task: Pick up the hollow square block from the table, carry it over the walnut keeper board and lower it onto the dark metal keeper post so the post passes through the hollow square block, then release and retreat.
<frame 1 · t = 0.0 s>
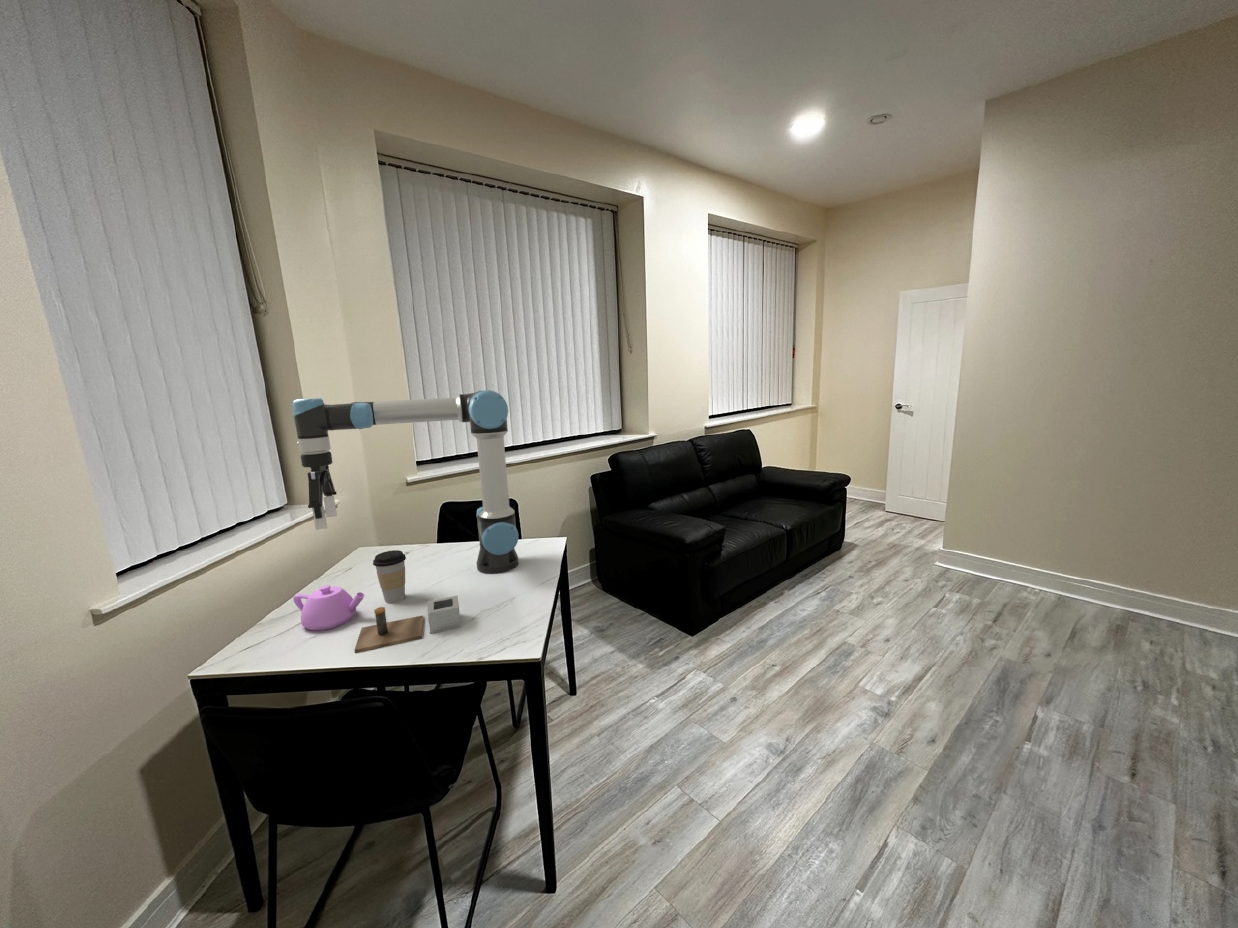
hand: (326, 522, 137), 28 cm above the table, fingers open, 13 cm apart
coffee cup: (394, 599, 147), on the table
keeper: (391, 634, 126), on the table
hollow square block: (445, 623, 131), on the table
teapot: (333, 620, 135), on the table
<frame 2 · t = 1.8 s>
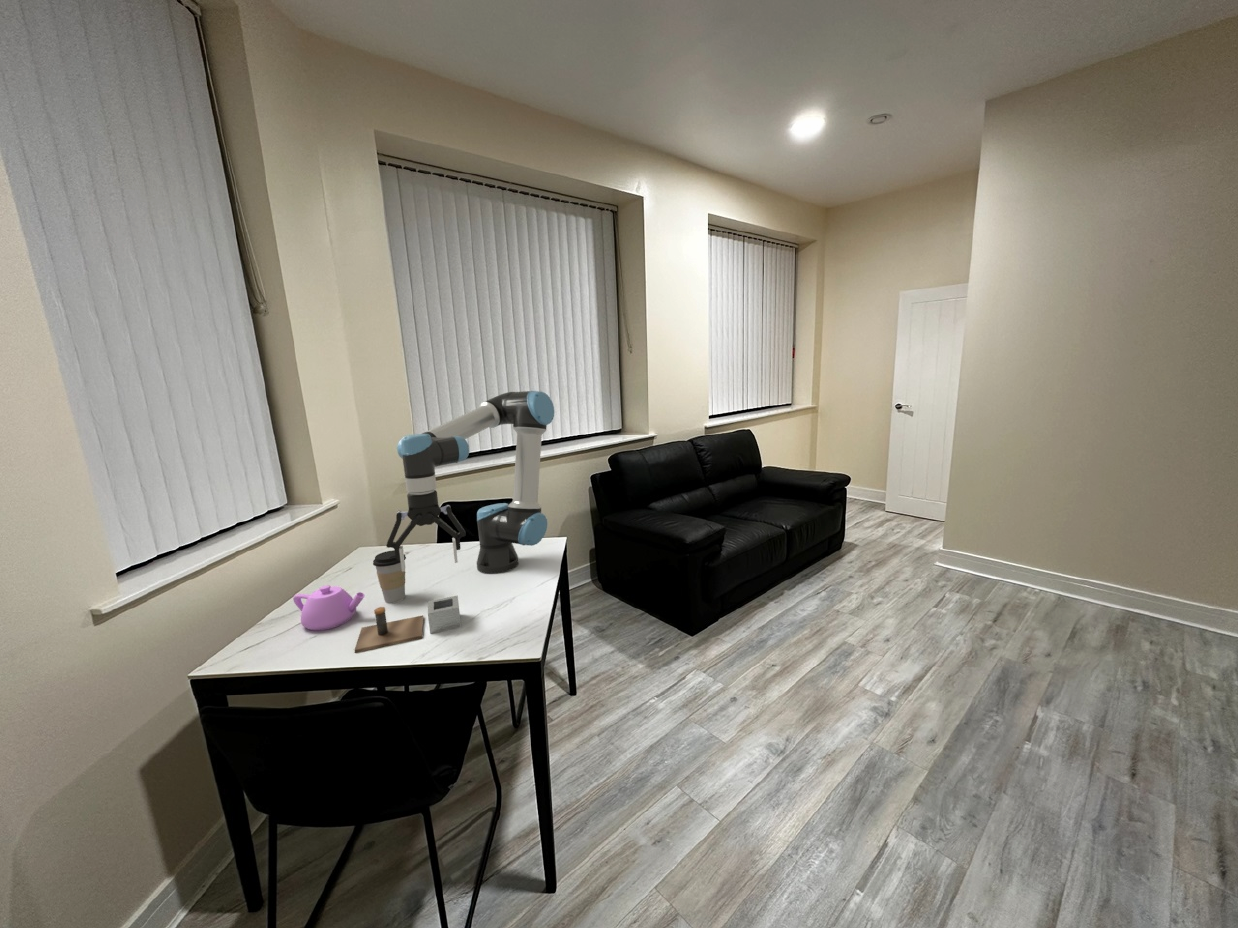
hand: (430, 565, 128), 17 cm above the table, fingers open, 13 cm apart
nothing on the table moved.
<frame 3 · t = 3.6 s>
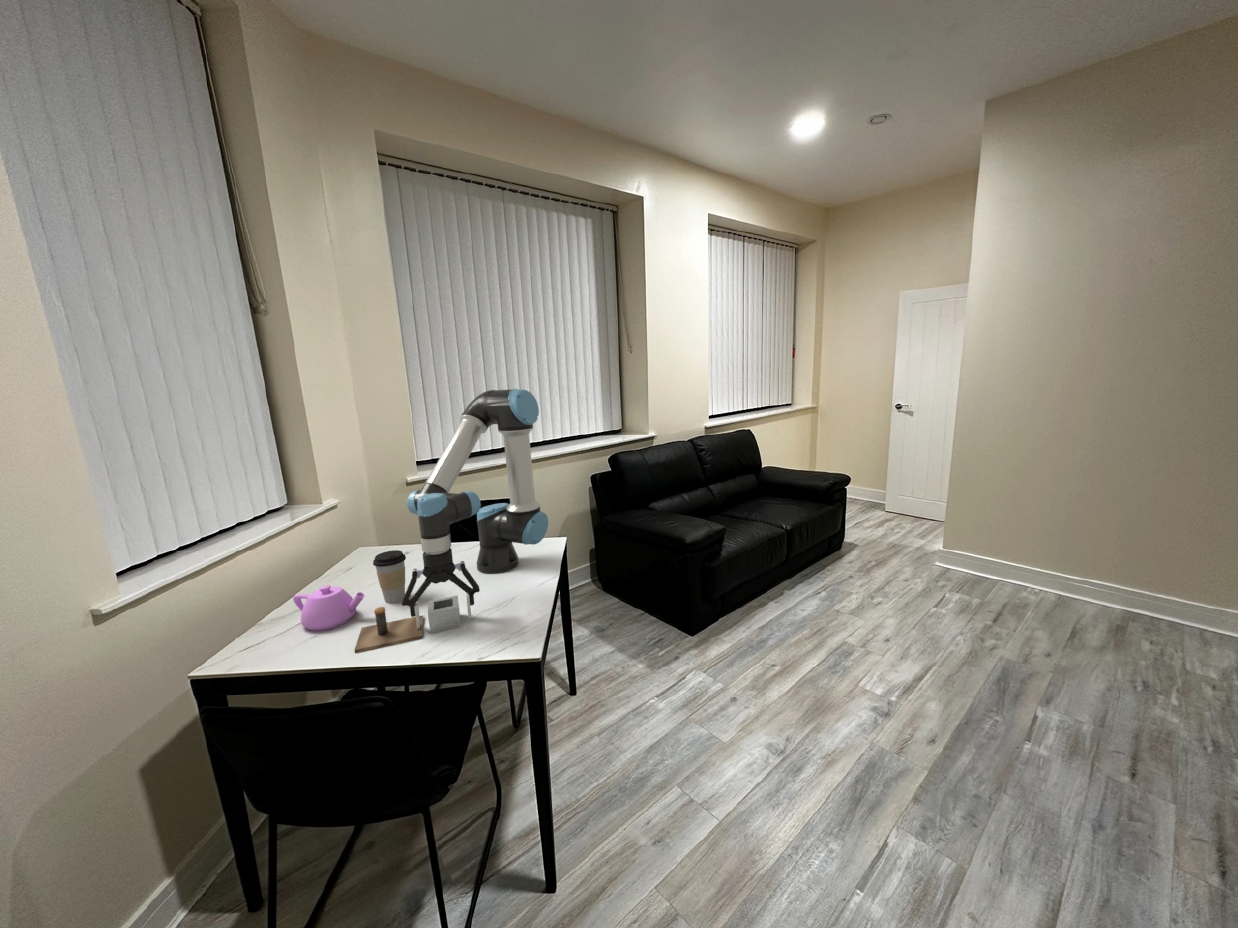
hand: (444, 621, 130), 1 cm above the table, fingers open, 13 cm apart
nothing on the table moved.
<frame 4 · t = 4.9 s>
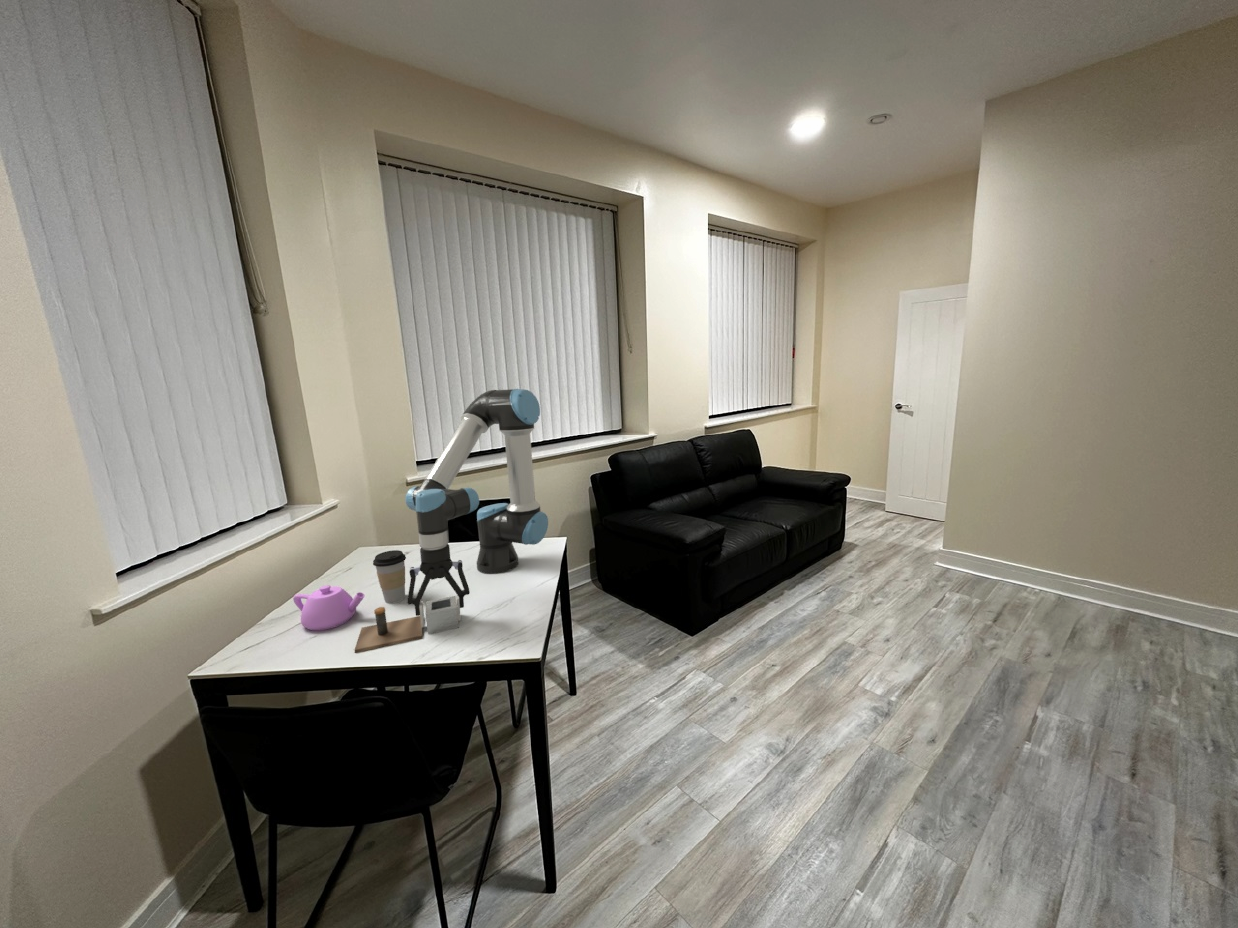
hand: (441, 621, 130), 1 cm above the table, fingers open, 9 cm apart
hollow square block: (443, 623, 130), on the table, touching gripper
everything else where it was.
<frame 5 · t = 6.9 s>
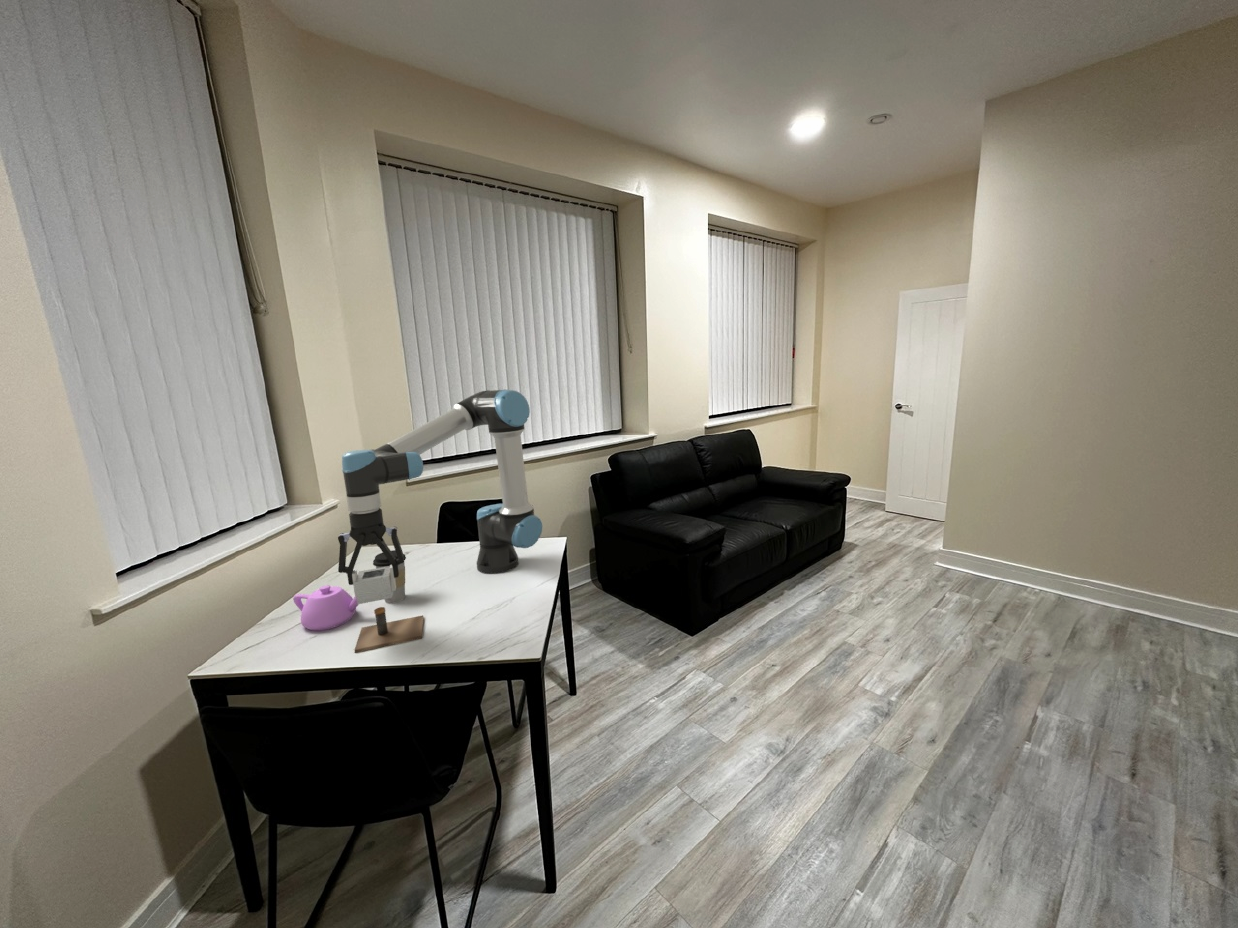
hand: (376, 591, 123), 13 cm above the table, fingers closed on hollow square block, 8 cm apart
hollow square block: (376, 594, 123), point 12 cm above the table, touching gripper
everything else where it was.
when the fingers open (3 cm above the table, at t = 8.7 s): hollow square block drops 1 cm, resting on keeper.
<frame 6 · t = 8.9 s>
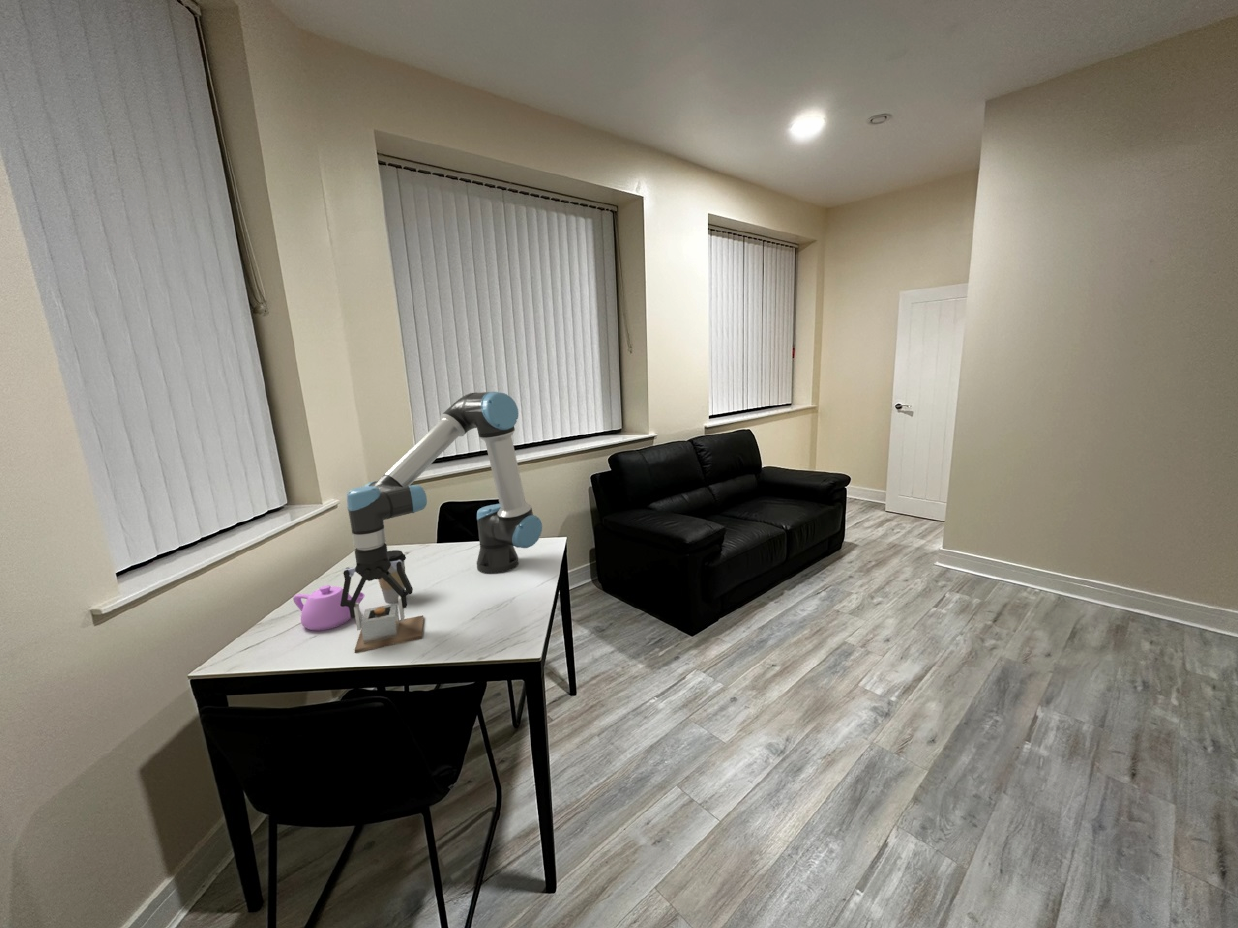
hand: (381, 623, 125), 4 cm above the table, fingers open, 10 cm apart
hollow square block: (382, 633, 125), point 1 cm above the table, touching keeper
everything else where it was.
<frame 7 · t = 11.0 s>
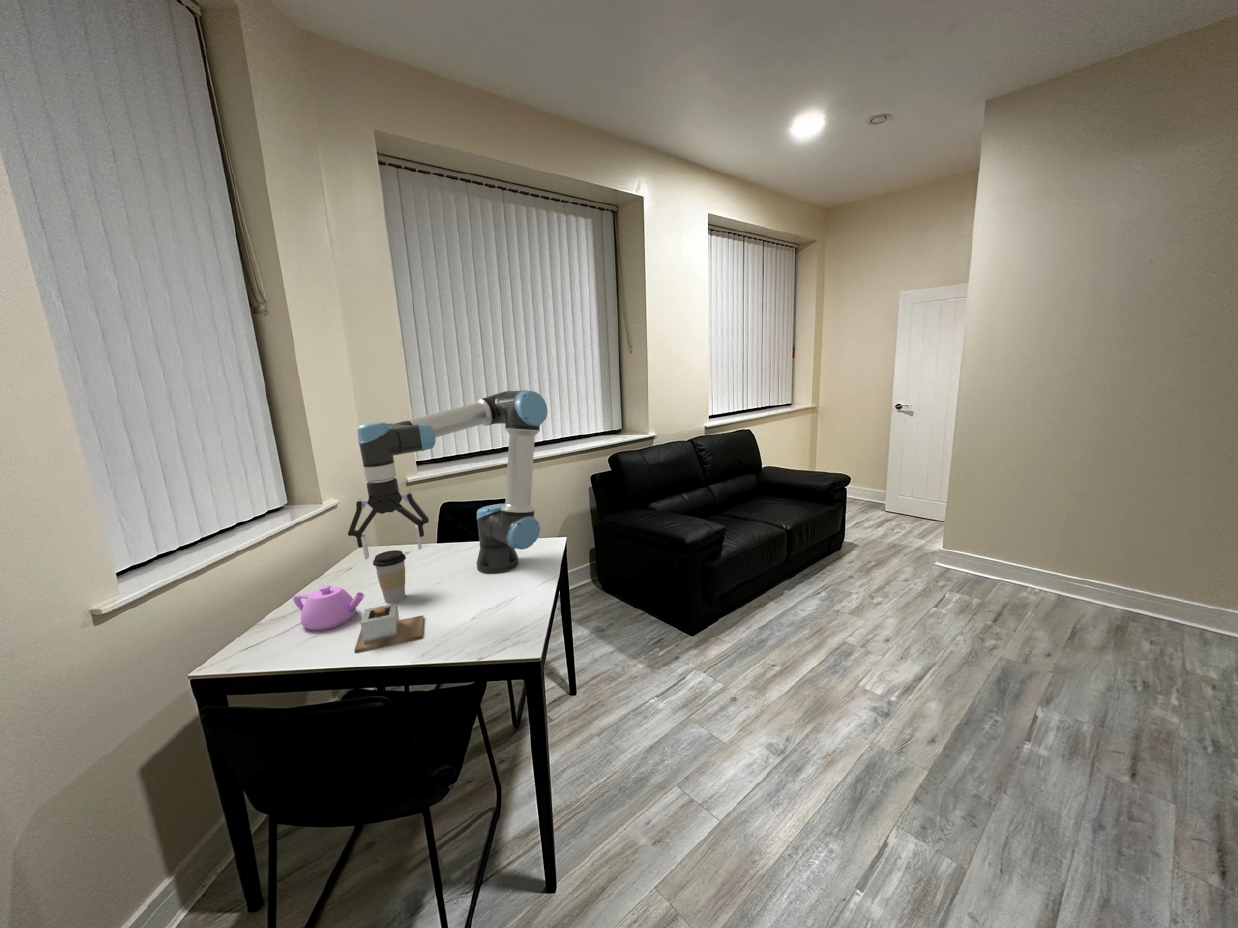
hand: (394, 552, 129), 21 cm above the table, fingers open, 13 cm apart
nothing on the table moved.
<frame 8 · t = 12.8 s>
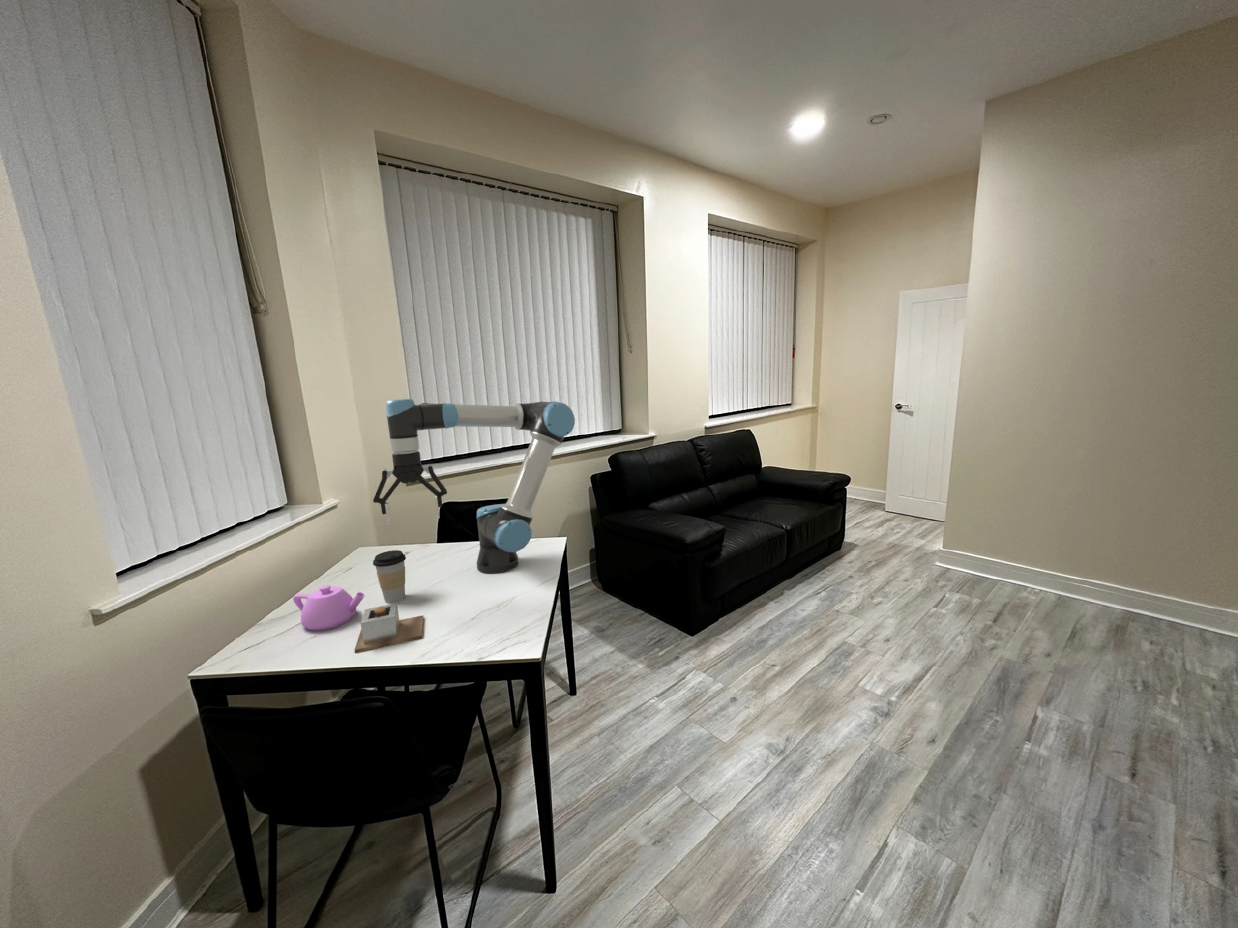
hand: (414, 520, 139), 27 cm above the table, fingers open, 13 cm apart
nothing on the table moved.
at the end: hollow square block 0.1 cm from the target spot on the keeper, point 0.8 cm above the keeper's base; the gripper is holding nothing; hollow square block tilted 0° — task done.
